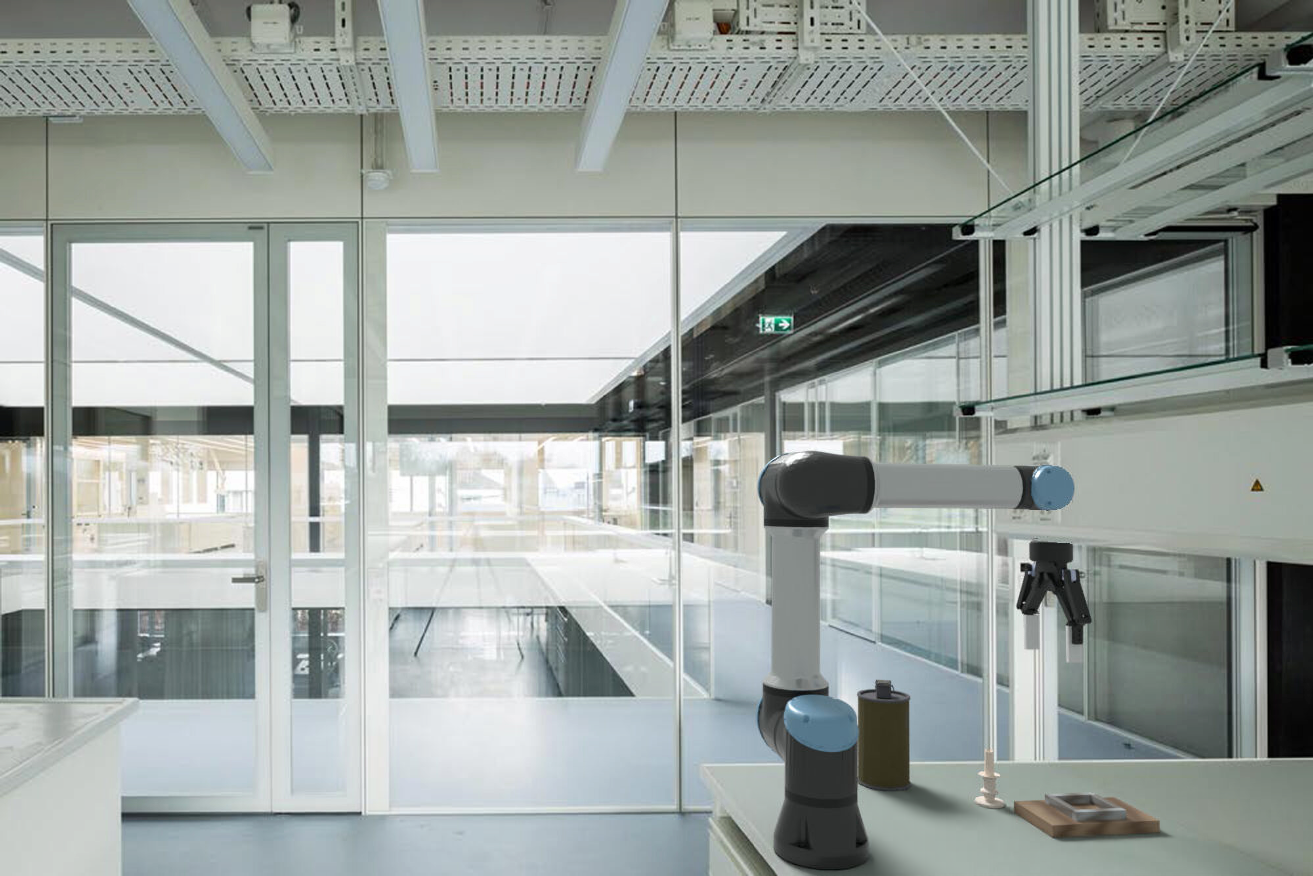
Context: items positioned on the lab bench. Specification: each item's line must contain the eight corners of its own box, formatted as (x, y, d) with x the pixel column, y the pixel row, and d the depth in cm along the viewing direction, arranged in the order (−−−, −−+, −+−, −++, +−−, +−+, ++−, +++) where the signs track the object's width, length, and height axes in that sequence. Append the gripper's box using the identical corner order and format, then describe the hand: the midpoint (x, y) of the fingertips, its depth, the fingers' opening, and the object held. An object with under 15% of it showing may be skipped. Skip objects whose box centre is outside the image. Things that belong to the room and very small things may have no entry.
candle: (1007, 809, 166) (1006, 751, 166) (977, 807, 166) (977, 750, 167) (1001, 799, 171) (1000, 744, 171) (972, 798, 172) (971, 742, 172)
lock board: (1052, 837, 152) (1052, 816, 152) (1014, 812, 164) (1013, 792, 164) (1159, 832, 155) (1159, 811, 155) (1114, 808, 167) (1114, 788, 167)
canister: (912, 793, 174) (912, 688, 175) (857, 789, 176) (857, 685, 177) (908, 776, 185) (908, 677, 186) (856, 772, 187) (856, 674, 188)
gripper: (1112, 544, 157) (1114, 668, 155) (1032, 537, 181) (1033, 644, 180) (1072, 544, 156) (1074, 669, 154) (997, 537, 180) (998, 644, 179)
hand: (1052, 655), depth 167 cm, fingers open, 13 cm apart
